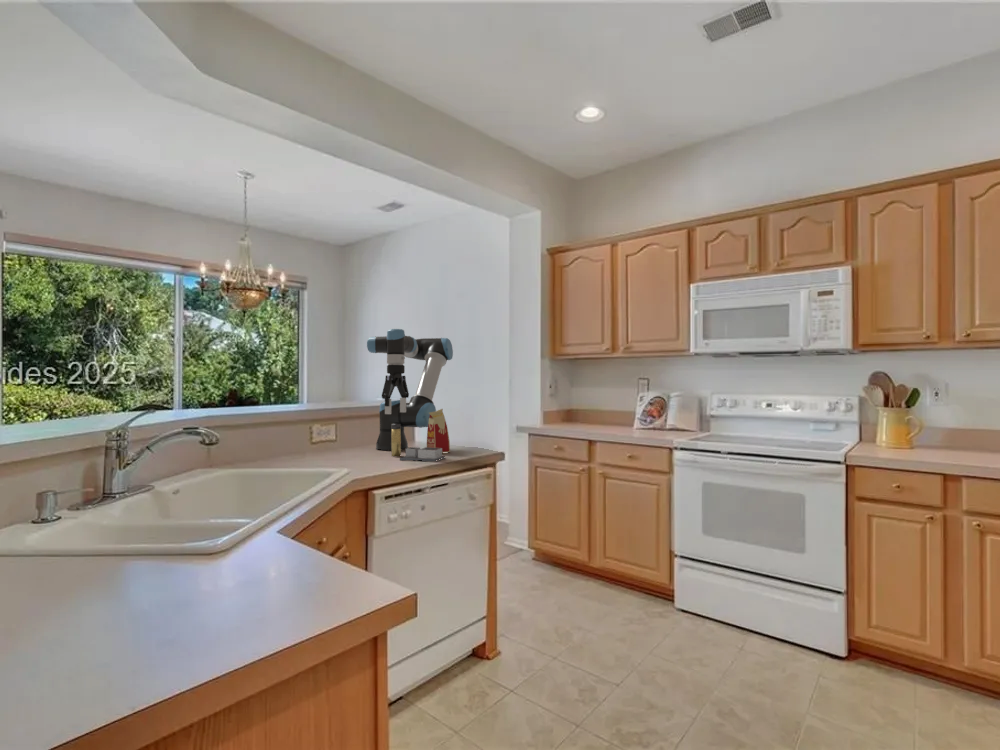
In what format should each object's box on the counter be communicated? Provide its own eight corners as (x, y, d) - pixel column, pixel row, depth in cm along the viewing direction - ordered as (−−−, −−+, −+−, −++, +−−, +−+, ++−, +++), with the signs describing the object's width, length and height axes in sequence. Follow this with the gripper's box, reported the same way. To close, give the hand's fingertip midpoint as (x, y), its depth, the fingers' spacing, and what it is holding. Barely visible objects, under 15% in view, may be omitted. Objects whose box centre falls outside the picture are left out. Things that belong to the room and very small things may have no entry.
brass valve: (394, 455, 227) (394, 423, 227) (402, 455, 226) (402, 423, 226) (389, 456, 224) (389, 424, 224) (398, 457, 222) (398, 424, 222)
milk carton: (442, 450, 242) (442, 408, 242) (450, 453, 234) (450, 408, 234) (424, 452, 237) (424, 408, 237) (432, 454, 229) (432, 409, 229)
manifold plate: (410, 456, 223) (410, 446, 223) (445, 458, 218) (445, 447, 218) (399, 460, 213) (399, 449, 213) (435, 461, 209) (435, 450, 209)
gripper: (389, 363, 212) (389, 415, 212) (416, 365, 236) (416, 411, 236) (373, 363, 214) (373, 414, 214) (401, 365, 238) (401, 411, 238)
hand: (395, 413), depth 225 cm, fingers open, 13 cm apart
